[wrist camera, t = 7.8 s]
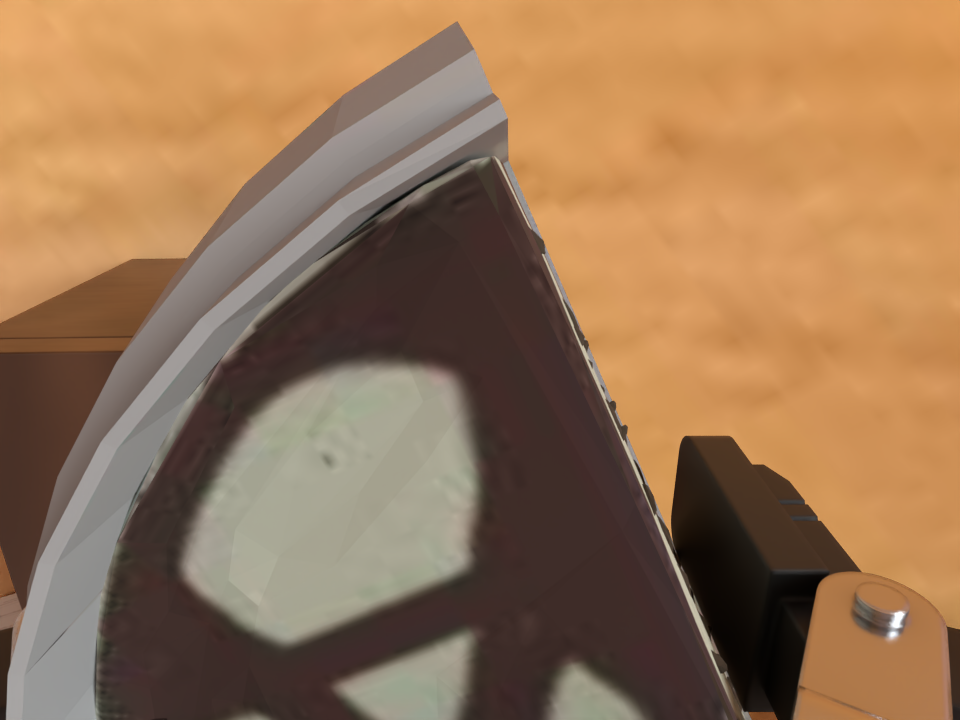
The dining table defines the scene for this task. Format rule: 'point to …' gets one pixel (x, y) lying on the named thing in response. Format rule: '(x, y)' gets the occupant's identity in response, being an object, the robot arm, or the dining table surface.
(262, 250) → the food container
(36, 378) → the dark wooden box
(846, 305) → the dining table surface
